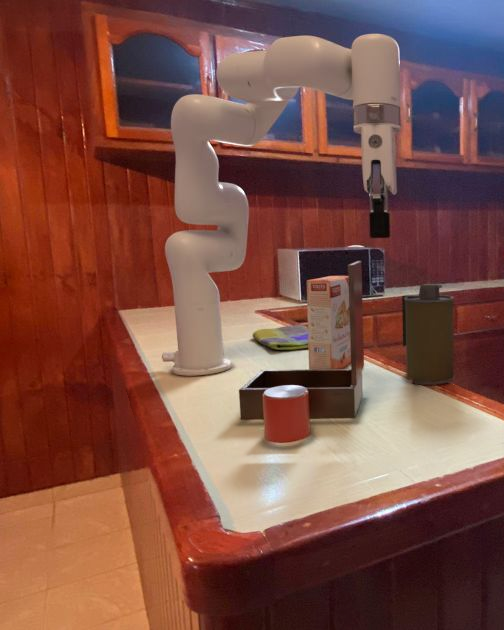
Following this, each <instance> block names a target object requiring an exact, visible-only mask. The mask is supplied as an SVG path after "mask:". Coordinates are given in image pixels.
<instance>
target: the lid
mask: <svg viewBox="0 0 504 630" xmlns="http://www.w3.org/2000/svg"><path fill="white" fill-rule="evenodd" d="M362 271H363V270H362V260H357V261H355V262H352V263H350V264H348V265H347V273H348V275H347V276H348V279H349V312H350V346H351V362H350V369H351V379H352V386H356V385H357V383H358V380H359V378H360V375H361V373H362V374H363V370H364V367H365V352H364V351H365V348H364V347H365V346H364V311H363V310H364V309H363V274H362Z"/></svg>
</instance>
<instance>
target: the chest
mask: <svg viewBox="0 0 504 630" xmlns="http://www.w3.org/2000/svg"><path fill="white" fill-rule="evenodd" d="M284 385H298V386H303V387H305V388H306V389H307V390H308V395H309V418H310V420H332V419H333V420H334V419H335V420H336V419H338V420H339V419H342V420H343V419H344V420H345V419H346V420H347V419H356V417H357V414H358V410H359V408H360V405H361V402H362V398H363V395H364V394H363V392H364V391H363V389H364V388H363V372H362V373H361V375H360V378H359V380H358V383H357V385H356V386H352V379H351V368H342V369H312V370H309V369H260V371H258V373H256V374H255V375H254V376H253V377H252V378H250V379H249V380H248V381H247V382H246V383H245V384H243V386H242V387H240V388H239V389H238V397H239V413H240V420H241V421H243V420H244V421H247V420H248V421H249V420H250V421H251V420H252V421H254V420H261V421H262V420H264V413H263V393H264V392H265V391H266V390H267V389H270V388H273V387H277V386H284Z"/></svg>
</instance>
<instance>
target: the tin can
mask: <svg viewBox="0 0 504 630" xmlns="http://www.w3.org/2000/svg"><path fill="white" fill-rule="evenodd" d="M263 413H264V419H263V428H264V429H263V430H264V431H263V432H264V439H265V440H266V441H267V442H271V443H276V444H287V443H294V442H299V441H301V440H302V441H303V440H305V439H306V438H308V437H309V436H310V434H311V426H310V425H311V419H310V418H309V395H308V390H307V389H306V388H305V387H303V386H298V385H284V386H277V387H273V388H270V389H267V390H266V391H265V392H264V393H263Z"/></svg>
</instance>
